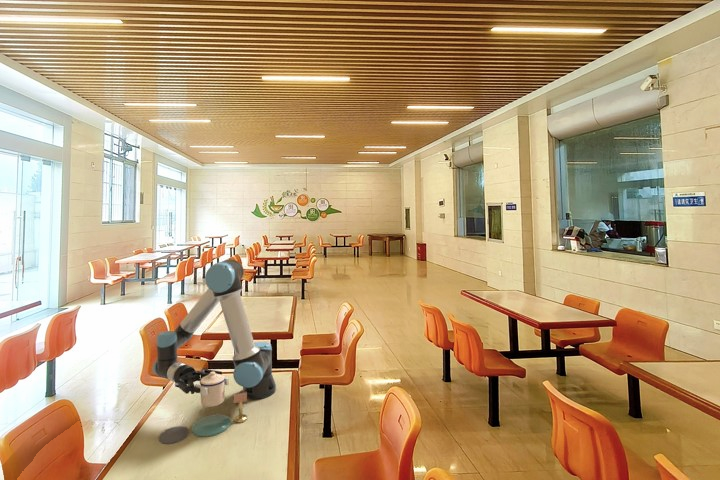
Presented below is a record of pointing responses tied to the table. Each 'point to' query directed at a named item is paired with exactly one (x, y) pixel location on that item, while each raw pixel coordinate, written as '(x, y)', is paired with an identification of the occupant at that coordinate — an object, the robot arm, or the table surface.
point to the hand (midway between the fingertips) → (217, 386)
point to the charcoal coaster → (174, 435)
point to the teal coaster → (211, 425)
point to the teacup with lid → (213, 389)
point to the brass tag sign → (240, 406)
